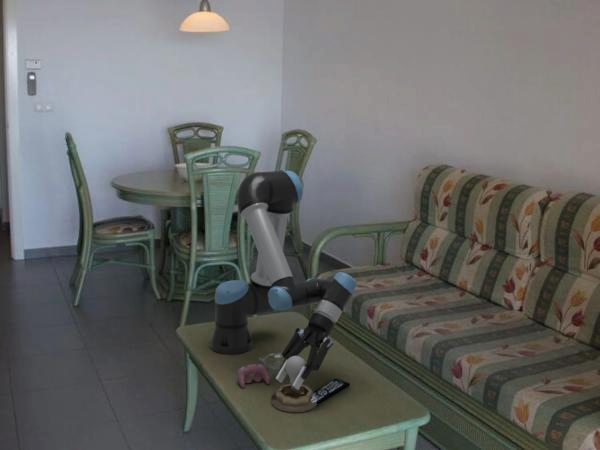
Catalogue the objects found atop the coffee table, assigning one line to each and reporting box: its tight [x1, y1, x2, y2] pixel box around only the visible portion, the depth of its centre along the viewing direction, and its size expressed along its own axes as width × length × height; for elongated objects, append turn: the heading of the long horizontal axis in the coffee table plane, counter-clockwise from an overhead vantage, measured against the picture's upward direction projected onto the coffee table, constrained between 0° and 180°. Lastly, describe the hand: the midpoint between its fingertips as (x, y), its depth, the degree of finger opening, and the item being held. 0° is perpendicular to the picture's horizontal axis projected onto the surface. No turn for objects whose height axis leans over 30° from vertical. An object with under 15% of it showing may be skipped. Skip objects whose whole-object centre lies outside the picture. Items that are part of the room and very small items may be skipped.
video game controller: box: [237, 363, 271, 389], centre depth 220 cm, size 10×5×7 cm, turn 112°
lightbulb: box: [285, 355, 307, 391], centre depth 206 cm, size 6×6×11 cm
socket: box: [270, 383, 318, 414], centre depth 208 cm, size 14×14×4 cm
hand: (287, 384), depth 204 cm, fingers closed on lightbulb, 6 cm apart
